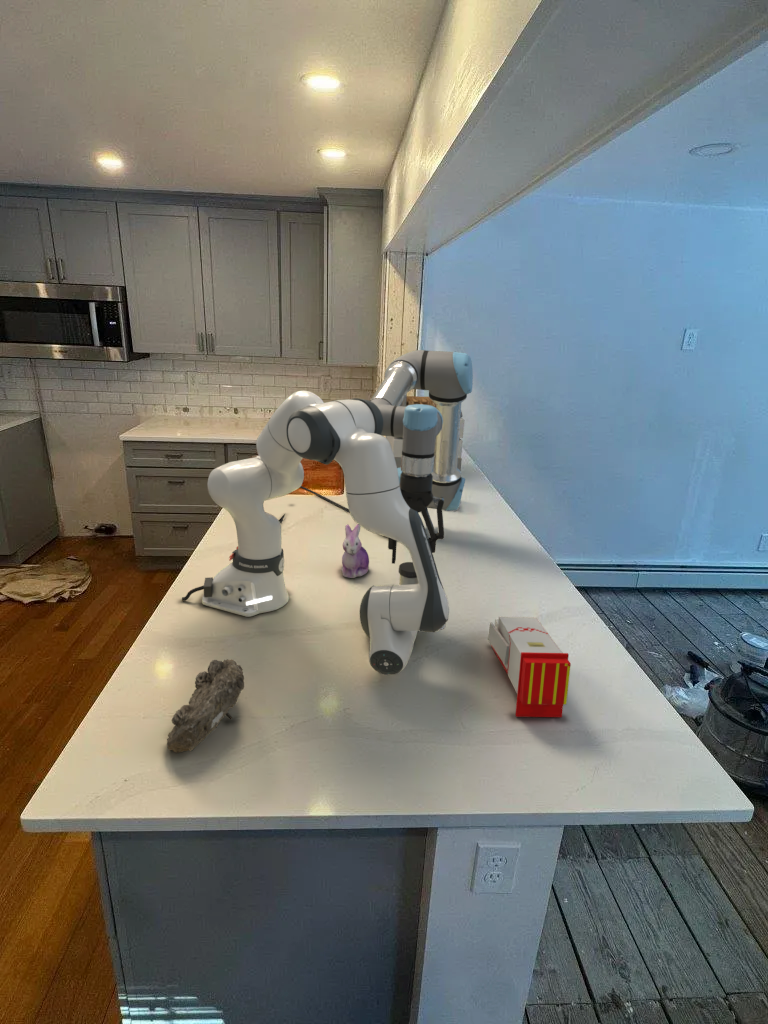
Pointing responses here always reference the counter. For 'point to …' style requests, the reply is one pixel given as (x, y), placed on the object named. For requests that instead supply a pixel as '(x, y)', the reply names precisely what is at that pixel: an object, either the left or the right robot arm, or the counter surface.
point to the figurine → (354, 554)
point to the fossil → (206, 705)
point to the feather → (281, 518)
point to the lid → (407, 570)
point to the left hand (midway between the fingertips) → (409, 596)
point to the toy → (531, 665)
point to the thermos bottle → (407, 580)
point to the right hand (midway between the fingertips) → (410, 562)
